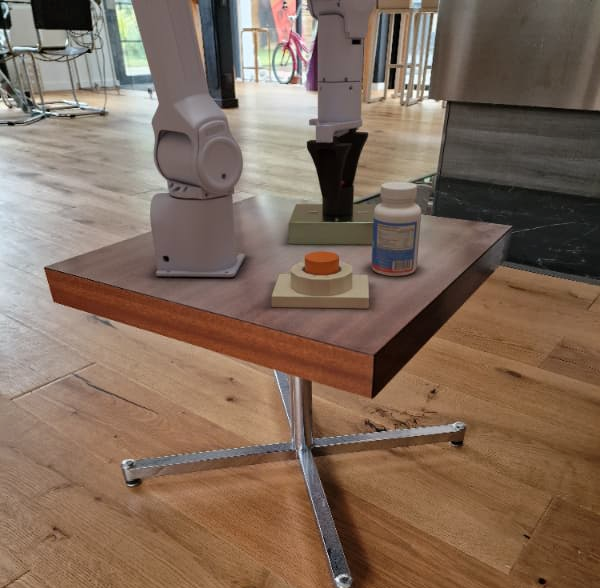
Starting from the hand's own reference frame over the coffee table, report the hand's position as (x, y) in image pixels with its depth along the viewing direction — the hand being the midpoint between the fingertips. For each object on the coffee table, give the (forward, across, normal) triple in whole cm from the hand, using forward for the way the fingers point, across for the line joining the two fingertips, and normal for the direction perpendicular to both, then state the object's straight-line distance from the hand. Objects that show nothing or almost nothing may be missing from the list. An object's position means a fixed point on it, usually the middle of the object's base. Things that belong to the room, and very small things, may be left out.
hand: (337, 192), depth 80 cm
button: (+3, +24, +5) cm, 25 cm away
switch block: (+6, +24, +5) cm, 26 cm away
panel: (+6, 0, 0) cm, 6 cm away
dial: (+3, 0, 0) cm, 3 cm away
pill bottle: (+6, +14, +11) cm, 19 cm away
